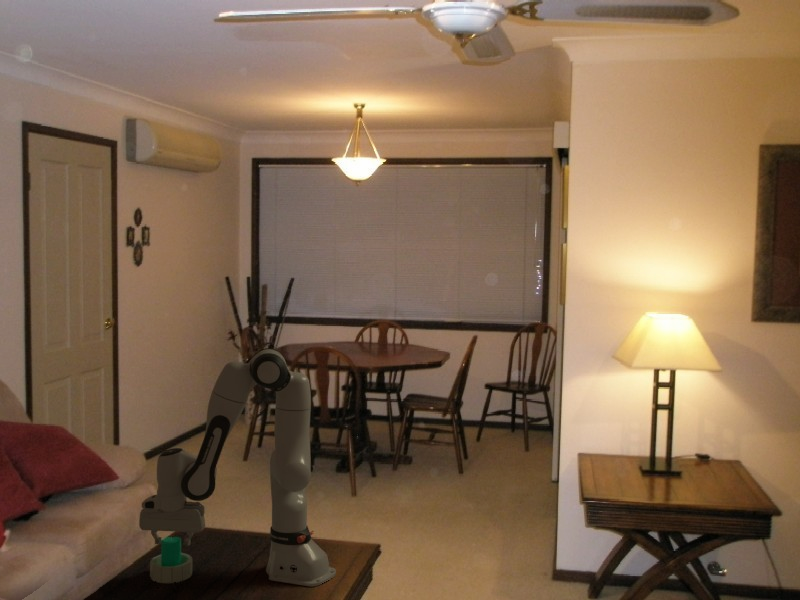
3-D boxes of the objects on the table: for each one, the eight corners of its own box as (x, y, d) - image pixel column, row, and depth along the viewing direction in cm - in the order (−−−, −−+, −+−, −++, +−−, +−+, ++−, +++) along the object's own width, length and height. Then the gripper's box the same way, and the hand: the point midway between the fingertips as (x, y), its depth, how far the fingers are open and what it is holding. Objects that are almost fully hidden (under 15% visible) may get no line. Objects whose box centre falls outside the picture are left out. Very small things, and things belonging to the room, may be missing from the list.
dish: (200, 572, 268) (200, 557, 267) (172, 586, 257) (172, 571, 257) (170, 564, 274) (170, 549, 273) (142, 577, 263) (141, 562, 262)
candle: (185, 570, 267) (185, 533, 266) (173, 577, 261) (173, 539, 260) (169, 567, 269) (169, 530, 268) (157, 574, 264) (157, 536, 263)
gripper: (207, 499, 265) (208, 542, 267) (144, 496, 268) (145, 539, 269) (200, 505, 259) (201, 549, 260) (136, 502, 261) (137, 546, 263)
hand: (172, 544), depth 265 cm, fingers open, 8 cm apart
